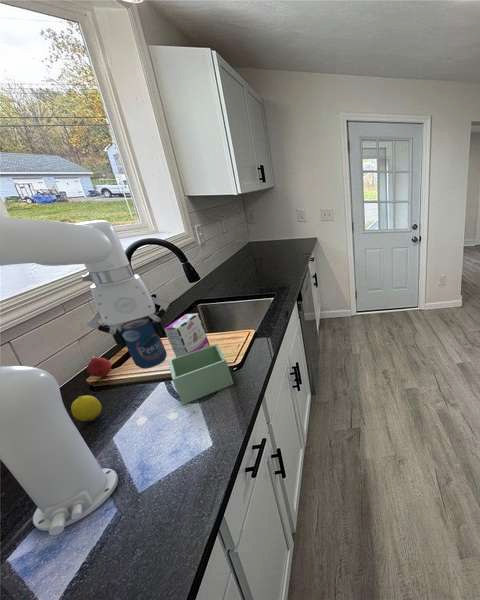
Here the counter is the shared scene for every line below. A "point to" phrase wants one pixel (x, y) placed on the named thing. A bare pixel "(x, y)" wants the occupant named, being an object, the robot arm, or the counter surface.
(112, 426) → the counter surface
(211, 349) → the bin
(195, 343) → the candy bar box
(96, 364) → the onion
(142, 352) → the soda can
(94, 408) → the lemon
